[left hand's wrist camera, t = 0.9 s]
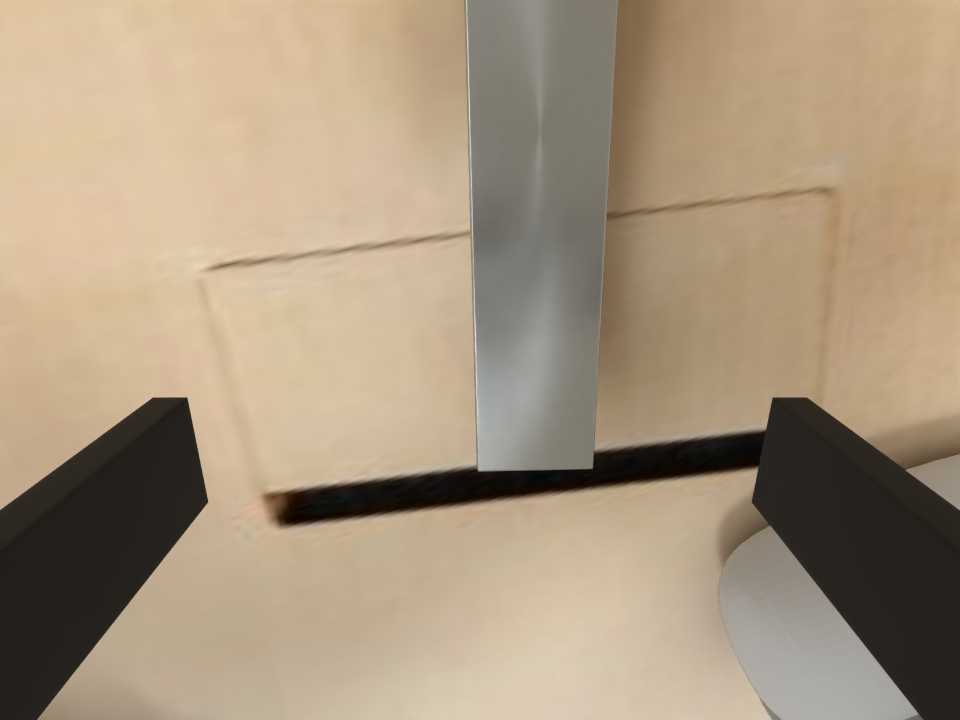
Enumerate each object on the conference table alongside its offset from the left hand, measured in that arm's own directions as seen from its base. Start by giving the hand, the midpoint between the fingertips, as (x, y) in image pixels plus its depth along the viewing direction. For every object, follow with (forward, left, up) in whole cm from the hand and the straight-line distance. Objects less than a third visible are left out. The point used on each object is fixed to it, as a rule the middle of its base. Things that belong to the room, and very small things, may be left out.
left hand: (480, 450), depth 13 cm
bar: (+7, +2, -17) cm, 19 cm away
